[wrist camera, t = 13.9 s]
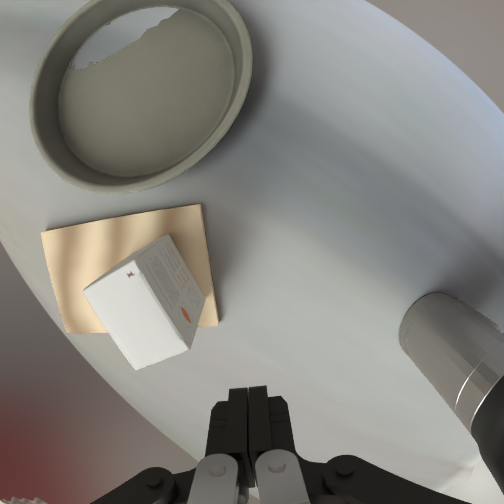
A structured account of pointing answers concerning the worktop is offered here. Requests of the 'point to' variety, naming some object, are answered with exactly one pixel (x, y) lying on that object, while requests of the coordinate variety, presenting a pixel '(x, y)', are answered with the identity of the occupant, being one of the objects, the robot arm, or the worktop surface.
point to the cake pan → (140, 95)
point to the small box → (148, 303)
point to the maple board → (115, 250)
